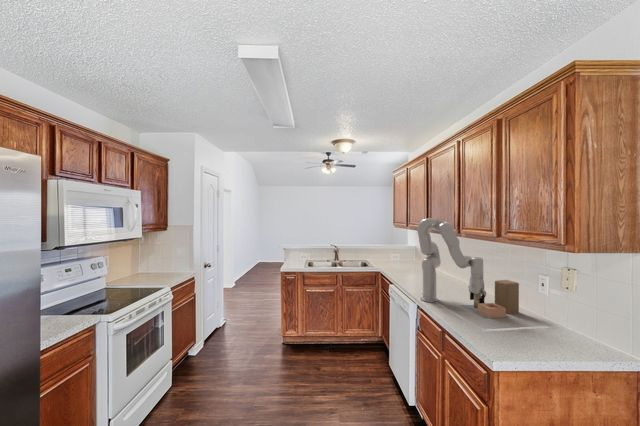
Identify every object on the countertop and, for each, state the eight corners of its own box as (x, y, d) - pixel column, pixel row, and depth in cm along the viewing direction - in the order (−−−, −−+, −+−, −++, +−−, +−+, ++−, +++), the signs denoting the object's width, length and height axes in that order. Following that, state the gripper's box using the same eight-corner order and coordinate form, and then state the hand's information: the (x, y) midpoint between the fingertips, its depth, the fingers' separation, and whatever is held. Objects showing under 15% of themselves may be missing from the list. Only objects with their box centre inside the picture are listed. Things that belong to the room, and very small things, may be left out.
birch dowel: (472, 306, 205) (472, 292, 205) (477, 306, 206) (477, 291, 206) (476, 308, 202) (476, 293, 202) (481, 308, 202) (481, 293, 202)
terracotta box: (477, 312, 195) (477, 303, 195) (493, 311, 196) (493, 302, 196) (489, 318, 184) (489, 308, 184) (505, 317, 185) (506, 308, 185)
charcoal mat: (459, 306, 209) (459, 305, 209) (482, 305, 211) (482, 304, 211) (485, 320, 183) (485, 318, 183) (511, 318, 185) (511, 317, 185)
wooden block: (505, 309, 204) (505, 279, 204) (519, 314, 194) (519, 282, 194) (493, 310, 201) (494, 280, 201) (507, 315, 191) (507, 283, 191)
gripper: (463, 273, 212) (463, 298, 212) (480, 279, 195) (480, 305, 195) (473, 273, 213) (473, 297, 213) (491, 278, 196) (491, 305, 196)
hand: (477, 301), depth 204 cm, fingers open, 9 cm apart
